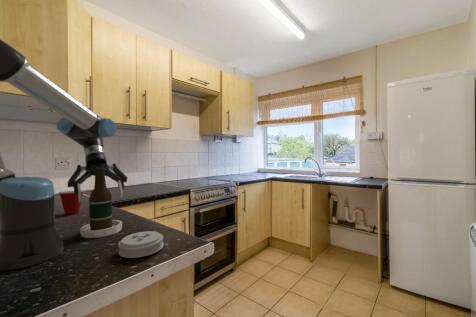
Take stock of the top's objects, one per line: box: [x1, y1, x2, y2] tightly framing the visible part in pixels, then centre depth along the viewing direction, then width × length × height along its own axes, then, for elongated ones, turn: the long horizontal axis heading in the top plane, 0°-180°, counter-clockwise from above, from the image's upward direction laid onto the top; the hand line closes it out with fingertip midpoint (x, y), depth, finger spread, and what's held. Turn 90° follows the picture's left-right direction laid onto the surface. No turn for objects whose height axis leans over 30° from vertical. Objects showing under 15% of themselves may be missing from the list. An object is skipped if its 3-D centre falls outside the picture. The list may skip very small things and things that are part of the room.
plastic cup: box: [58, 190, 85, 216], centre depth 115 cm, size 11×11×12 cm
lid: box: [117, 230, 164, 259], centre depth 68 cm, size 13×13×5 cm
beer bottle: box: [88, 167, 114, 231], centre depth 86 cm, size 8×8×24 cm
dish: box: [79, 219, 123, 239], centre depth 86 cm, size 14×14×2 cm
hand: (101, 197), depth 84 cm, fingers open, 13 cm apart
